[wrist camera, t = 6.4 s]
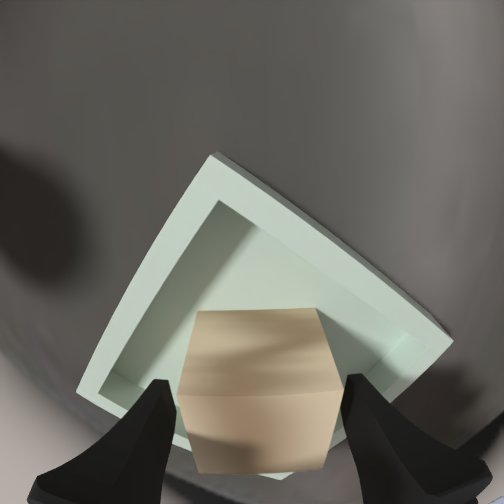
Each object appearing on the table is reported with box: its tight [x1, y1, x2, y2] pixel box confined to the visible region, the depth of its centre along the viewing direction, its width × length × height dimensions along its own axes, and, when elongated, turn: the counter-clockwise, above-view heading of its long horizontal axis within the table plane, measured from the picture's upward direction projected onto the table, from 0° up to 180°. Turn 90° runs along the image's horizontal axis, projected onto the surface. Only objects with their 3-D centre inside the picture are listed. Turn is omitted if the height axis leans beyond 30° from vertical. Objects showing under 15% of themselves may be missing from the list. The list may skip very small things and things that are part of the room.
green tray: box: [76, 152, 453, 480], centre depth 14 cm, size 13×13×2 cm
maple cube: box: [176, 307, 344, 474], centre depth 12 cm, size 5×5×5 cm
